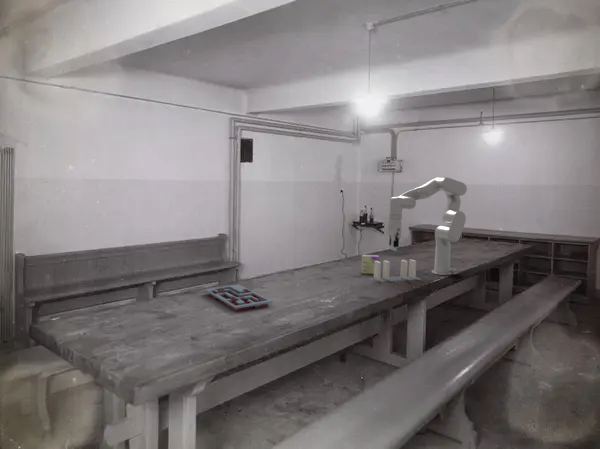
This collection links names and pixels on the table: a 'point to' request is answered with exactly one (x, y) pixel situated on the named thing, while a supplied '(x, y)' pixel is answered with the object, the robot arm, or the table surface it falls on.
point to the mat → (394, 279)
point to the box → (368, 263)
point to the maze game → (238, 297)
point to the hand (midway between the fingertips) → (393, 245)
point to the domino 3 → (392, 244)
